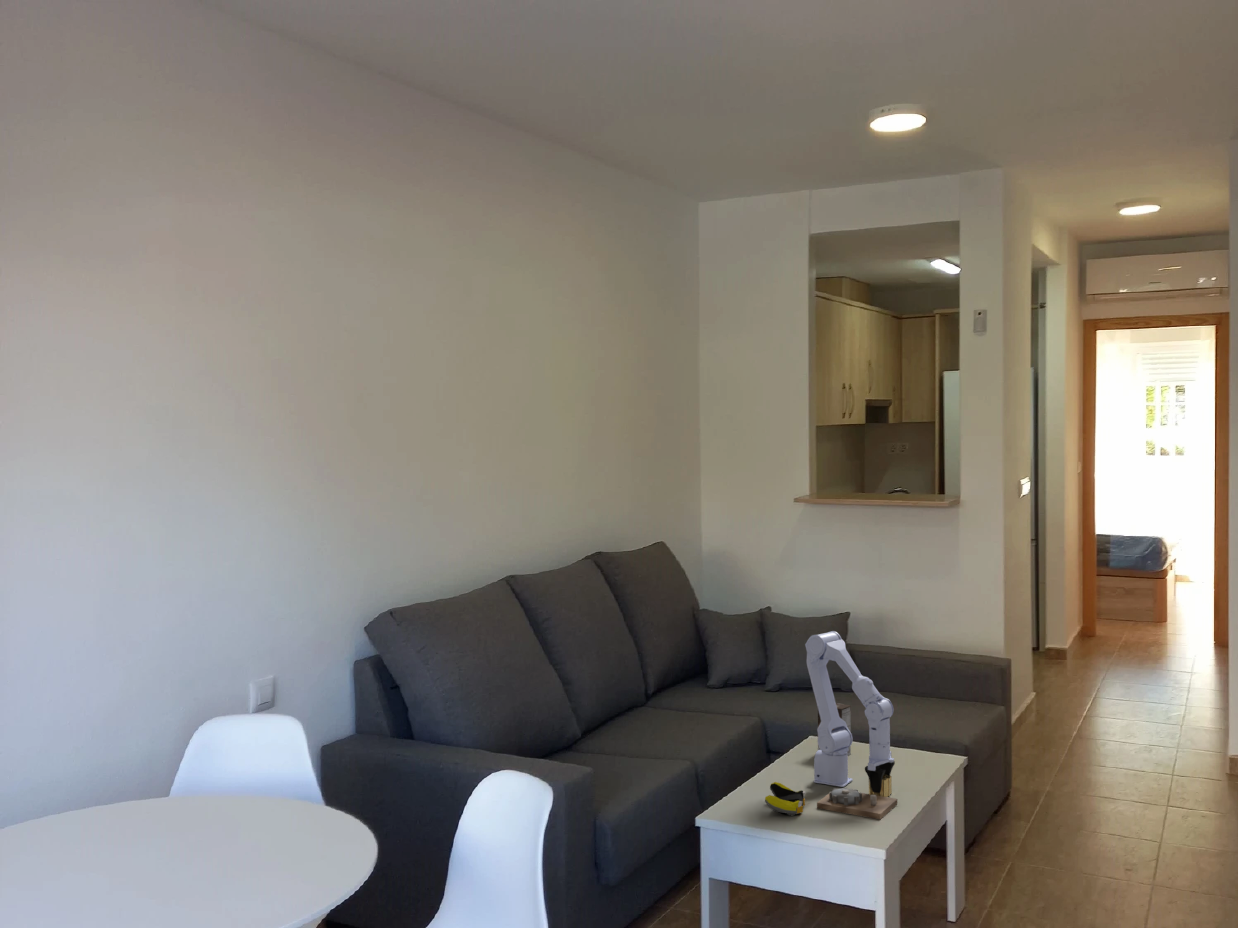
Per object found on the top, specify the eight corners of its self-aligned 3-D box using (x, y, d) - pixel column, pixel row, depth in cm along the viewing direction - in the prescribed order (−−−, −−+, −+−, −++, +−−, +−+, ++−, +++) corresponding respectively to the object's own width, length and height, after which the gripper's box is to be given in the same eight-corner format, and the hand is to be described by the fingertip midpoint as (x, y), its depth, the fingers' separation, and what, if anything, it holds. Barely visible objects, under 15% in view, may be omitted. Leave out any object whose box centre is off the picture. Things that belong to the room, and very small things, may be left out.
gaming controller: (764, 817, 292) (801, 819, 290) (763, 796, 292) (801, 799, 289) (771, 799, 307) (806, 801, 304) (770, 779, 307) (806, 782, 304)
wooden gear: (867, 795, 308) (867, 777, 308) (874, 789, 313) (873, 772, 313) (886, 798, 305) (886, 780, 305) (893, 792, 310) (892, 775, 310)
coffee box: (816, 753, 350) (816, 704, 350) (827, 749, 355) (826, 700, 354) (841, 758, 344) (841, 708, 343) (852, 754, 349) (851, 704, 348)
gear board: (817, 807, 298) (816, 793, 298) (835, 793, 310) (835, 779, 310) (880, 819, 289) (880, 803, 288) (897, 804, 300) (897, 789, 300)
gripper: (884, 749, 301) (885, 798, 301) (901, 737, 313) (902, 784, 313) (860, 746, 304) (860, 794, 305) (877, 734, 317) (878, 780, 317)
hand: (880, 789), depth 309 cm, fingers closed on wooden gear, 6 cm apart
